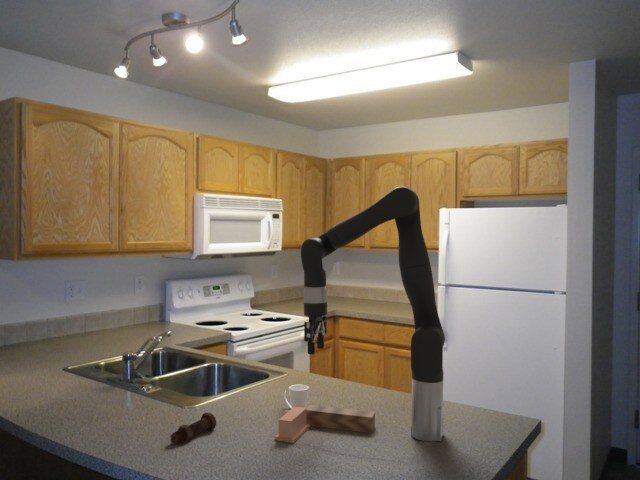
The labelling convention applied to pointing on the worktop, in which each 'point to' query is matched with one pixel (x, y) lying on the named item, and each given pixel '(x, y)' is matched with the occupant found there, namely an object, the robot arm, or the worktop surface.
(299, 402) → the cup
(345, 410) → the walnut bar
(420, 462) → the worktop surface
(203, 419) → the bolt
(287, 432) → the ridge
